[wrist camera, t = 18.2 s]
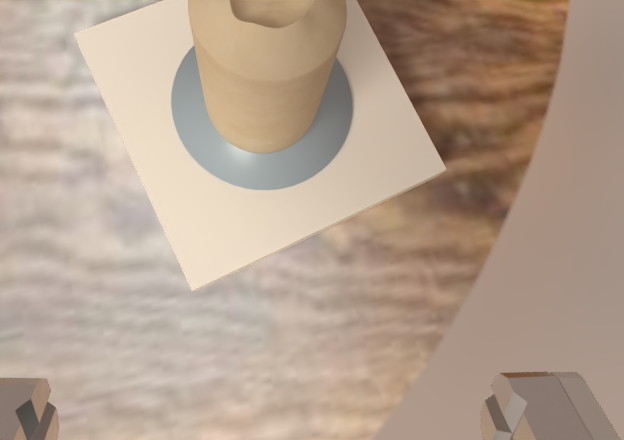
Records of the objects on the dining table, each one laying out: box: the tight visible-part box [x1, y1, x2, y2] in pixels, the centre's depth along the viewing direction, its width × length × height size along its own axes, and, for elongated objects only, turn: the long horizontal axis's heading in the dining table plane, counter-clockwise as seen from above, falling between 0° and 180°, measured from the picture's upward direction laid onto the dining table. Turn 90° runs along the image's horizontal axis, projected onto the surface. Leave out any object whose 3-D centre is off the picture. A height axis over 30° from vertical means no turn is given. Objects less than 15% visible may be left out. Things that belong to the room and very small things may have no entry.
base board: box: [73, 0, 447, 292], centre depth 28 cm, size 14×14×2 cm
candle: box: [188, 0, 347, 153], centre depth 23 cm, size 6×6×10 cm
